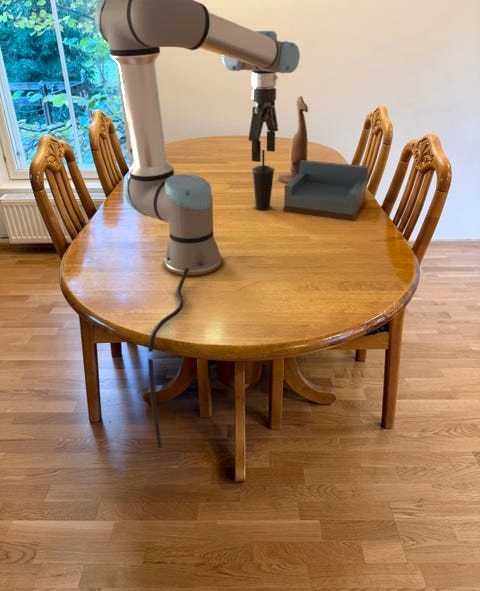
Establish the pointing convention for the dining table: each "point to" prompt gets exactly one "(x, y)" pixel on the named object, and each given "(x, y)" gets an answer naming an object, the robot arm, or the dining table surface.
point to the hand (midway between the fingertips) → (263, 156)
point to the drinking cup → (262, 184)
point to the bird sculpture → (297, 144)
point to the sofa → (327, 190)
